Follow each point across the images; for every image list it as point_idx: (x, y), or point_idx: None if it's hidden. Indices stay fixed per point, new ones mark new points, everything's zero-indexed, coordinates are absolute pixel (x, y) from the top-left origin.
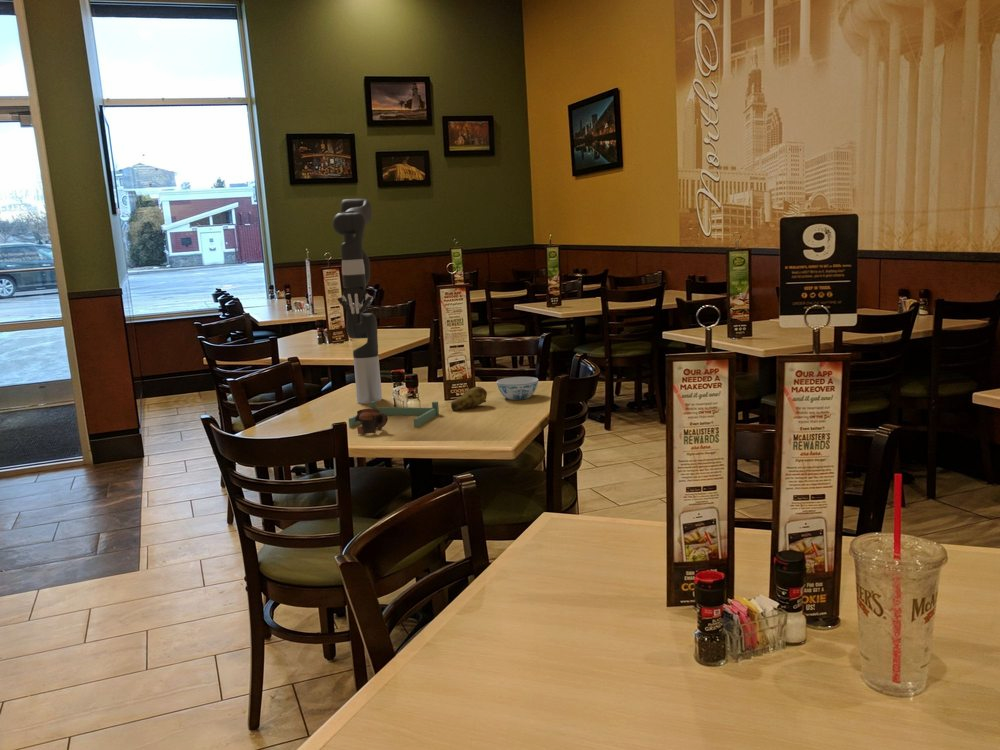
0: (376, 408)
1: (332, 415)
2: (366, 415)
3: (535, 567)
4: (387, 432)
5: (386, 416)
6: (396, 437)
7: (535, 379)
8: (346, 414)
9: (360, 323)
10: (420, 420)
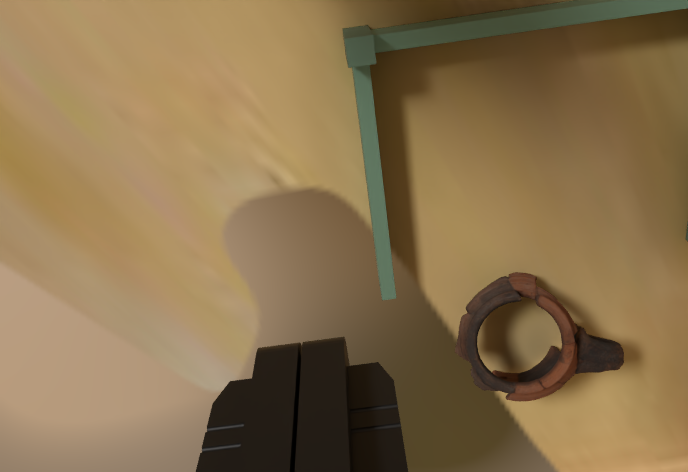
0: (383, 51)
1: (103, 67)
2: (544, 396)
3: None
4: (592, 318)
5: (623, 358)
6: (661, 372)
7: None
8: (165, 27)
9: (348, 365)
10: None
